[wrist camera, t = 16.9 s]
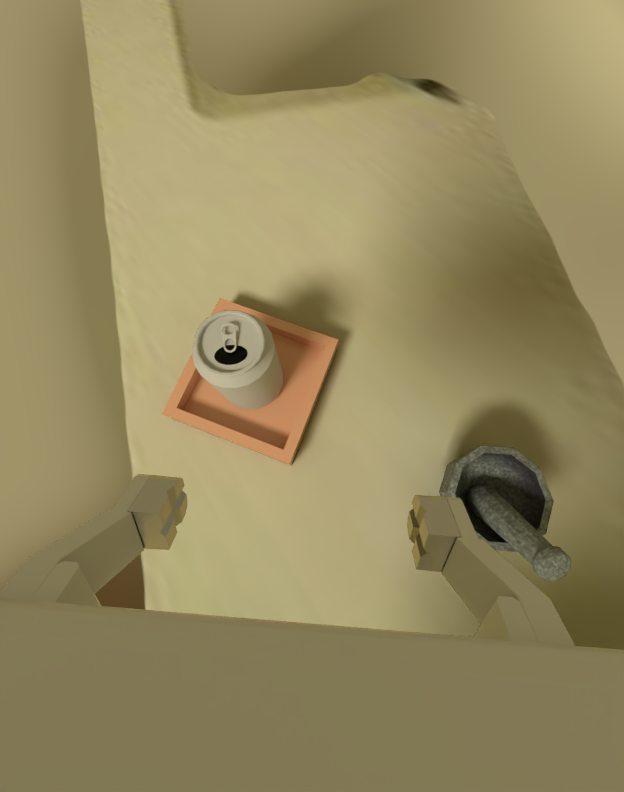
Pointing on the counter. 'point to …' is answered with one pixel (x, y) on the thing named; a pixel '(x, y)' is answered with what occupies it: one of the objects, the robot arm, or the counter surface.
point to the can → (238, 358)
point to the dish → (279, 420)
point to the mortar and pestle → (507, 505)
